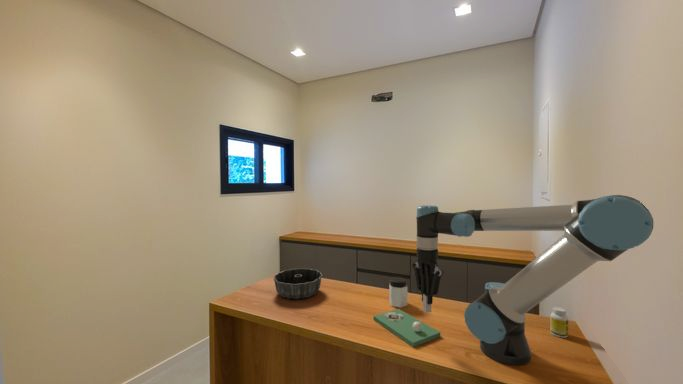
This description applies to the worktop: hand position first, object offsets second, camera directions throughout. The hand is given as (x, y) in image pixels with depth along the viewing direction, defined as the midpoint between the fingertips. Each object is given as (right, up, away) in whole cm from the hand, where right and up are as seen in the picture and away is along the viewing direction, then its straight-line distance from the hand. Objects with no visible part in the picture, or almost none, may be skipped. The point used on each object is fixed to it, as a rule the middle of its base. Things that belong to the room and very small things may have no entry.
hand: (427, 311), depth 102 cm
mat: (-6, -11, +11) cm, 17 cm away
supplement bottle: (+52, -11, +4) cm, 53 cm away
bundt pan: (-55, -12, +50) cm, 75 cm away
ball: (-2, -8, +5) cm, 9 cm away
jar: (-4, -11, +34) cm, 36 cm away
